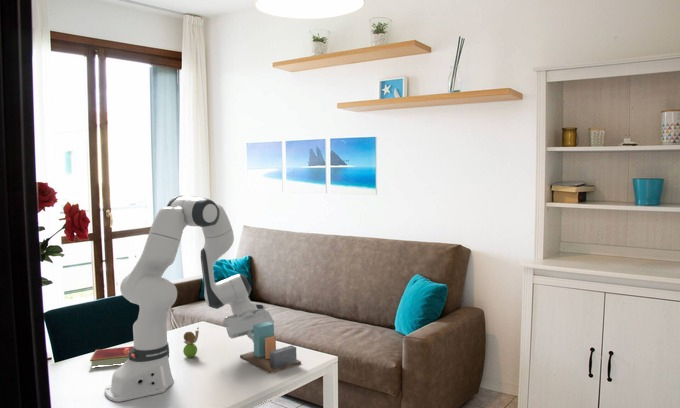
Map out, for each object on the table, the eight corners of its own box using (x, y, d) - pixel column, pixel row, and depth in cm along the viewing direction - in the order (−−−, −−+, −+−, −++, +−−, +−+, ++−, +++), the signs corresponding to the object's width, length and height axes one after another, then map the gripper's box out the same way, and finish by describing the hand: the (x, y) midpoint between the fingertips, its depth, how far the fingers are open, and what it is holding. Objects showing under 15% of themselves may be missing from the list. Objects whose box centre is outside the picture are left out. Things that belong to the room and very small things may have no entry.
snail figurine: (197, 359, 211) (196, 329, 210) (181, 359, 211) (180, 329, 210) (201, 354, 216) (200, 325, 215) (186, 354, 216) (184, 325, 215)
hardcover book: (96, 359, 214) (95, 349, 214) (151, 353, 220) (150, 343, 219) (90, 370, 203) (89, 359, 202) (148, 363, 208) (148, 353, 208)
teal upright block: (261, 358, 206) (260, 328, 205) (254, 355, 210) (253, 325, 209) (276, 354, 210) (275, 324, 209) (269, 350, 215) (268, 321, 214)
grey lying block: (274, 369, 196) (274, 353, 196) (270, 367, 198) (269, 351, 198) (296, 362, 203) (296, 347, 202) (292, 360, 205) (291, 345, 204)
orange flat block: (267, 359, 205) (266, 339, 205) (265, 358, 206) (264, 338, 206) (286, 353, 211) (285, 334, 210) (284, 352, 212) (283, 333, 211)
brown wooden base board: (269, 373, 195) (269, 370, 195) (240, 357, 212) (239, 354, 212) (300, 363, 204) (300, 360, 204) (269, 349, 221) (269, 346, 221)
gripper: (224, 313, 212) (237, 343, 206) (267, 304, 225) (281, 331, 219) (219, 322, 216) (232, 351, 209) (262, 312, 229) (275, 339, 223)
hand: (257, 341), depth 214 cm, fingers closed
